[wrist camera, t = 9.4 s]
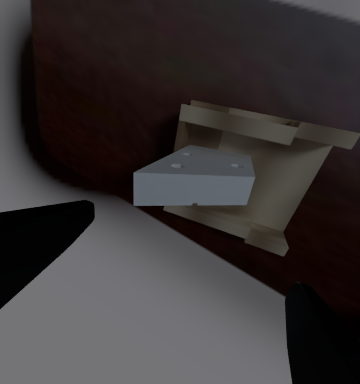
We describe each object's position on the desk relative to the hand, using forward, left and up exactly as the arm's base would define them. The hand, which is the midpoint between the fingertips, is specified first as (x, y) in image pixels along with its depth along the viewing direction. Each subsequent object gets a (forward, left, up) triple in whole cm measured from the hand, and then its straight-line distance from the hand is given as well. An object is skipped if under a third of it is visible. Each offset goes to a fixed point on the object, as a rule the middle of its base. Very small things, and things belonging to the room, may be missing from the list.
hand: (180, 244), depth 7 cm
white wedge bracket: (0, 0, -12) cm, 12 cm away
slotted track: (-2, 0, -12) cm, 12 cm away
